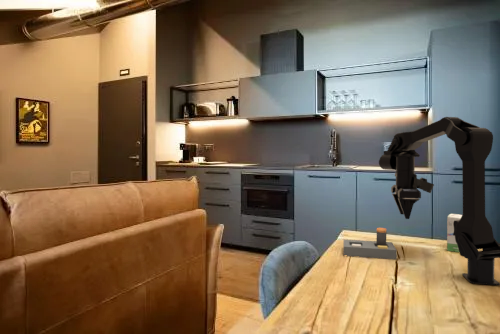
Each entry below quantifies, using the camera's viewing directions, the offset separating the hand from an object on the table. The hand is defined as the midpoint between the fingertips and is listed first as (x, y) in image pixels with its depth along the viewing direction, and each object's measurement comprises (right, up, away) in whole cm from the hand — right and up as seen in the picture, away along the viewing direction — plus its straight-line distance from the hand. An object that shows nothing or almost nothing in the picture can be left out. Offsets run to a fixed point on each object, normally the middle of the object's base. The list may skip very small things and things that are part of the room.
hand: (404, 216), depth 113 cm
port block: (-13, -12, -1) cm, 18 cm away
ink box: (+19, -12, +3) cm, 23 cm away
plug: (-9, -12, -2) cm, 15 cm away
